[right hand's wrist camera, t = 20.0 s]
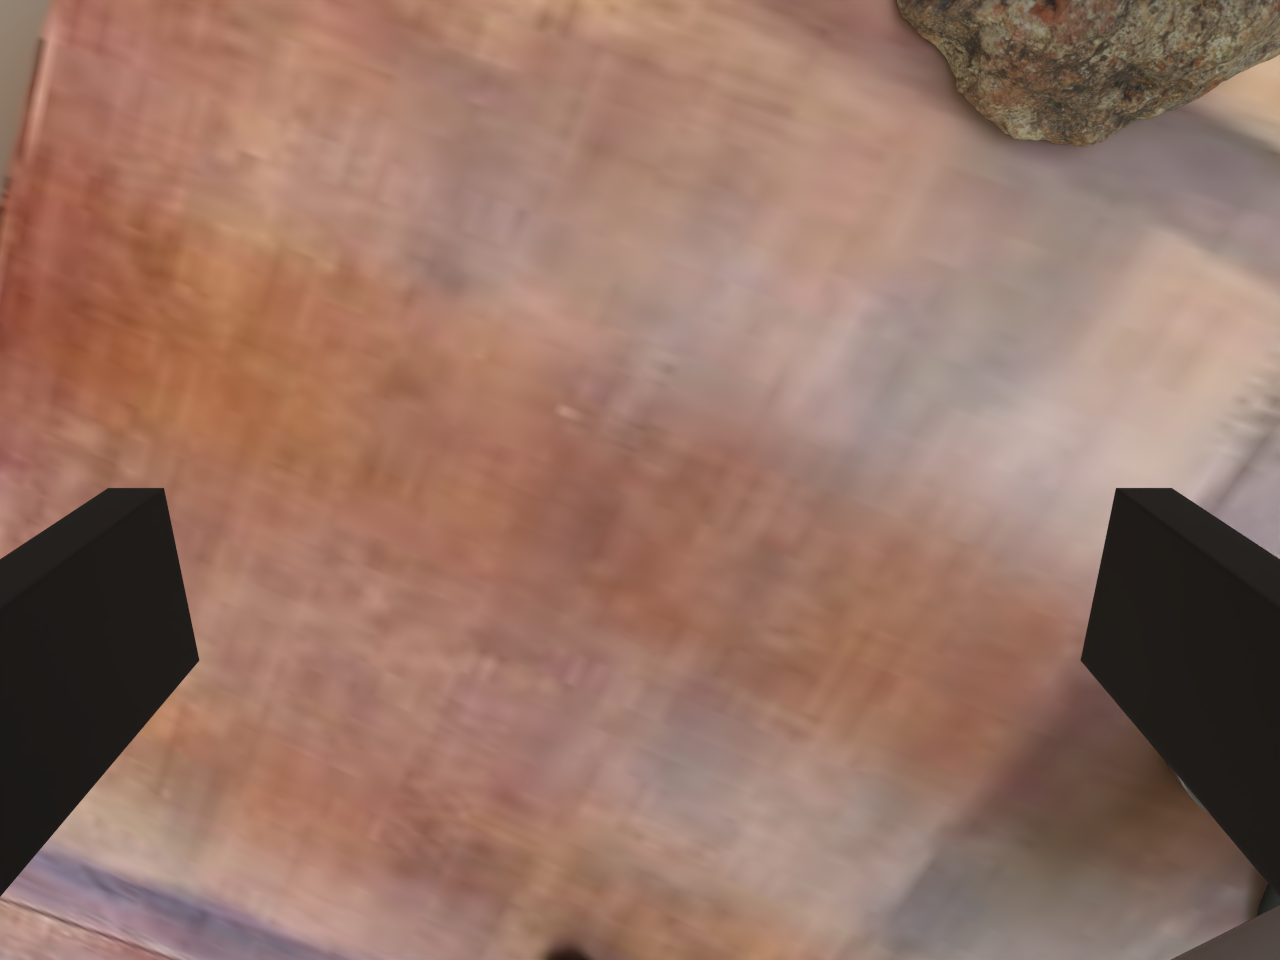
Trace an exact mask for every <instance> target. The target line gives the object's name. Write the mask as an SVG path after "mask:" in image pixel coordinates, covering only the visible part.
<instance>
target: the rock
mask: <svg viewBox="0 0 1280 960" xmlns="http://www.w3.org/2000/svg"><path fill="white" fill-rule="evenodd" d="M896 1H897V4H898V7H899V11H900V14H901V17H902V18H904V19H905V20H907V21H908V22H909V23H910V24H911V25H912V26H913V27H914V28H915V29H916V30H917V32H918V33H919V34H920V36H921V37H923V38H925V39H927V40H928V41H930V42H931V43H933V44H934V45H935V46H936V47H937V48H938V49H939V50H940V51H941V52H942V53H943V55H944V56H945V57H946V59H947V62H948V64H949V66H950V69H951V71H952V72H953V74H954V75H955V77H956V87H957V90H958V92H960V93H962V94H963V95H964V96H965V98H966V99H967V101H968V102H969V103H971V104H972V105H973V106H974V107H975V109H976V110H978V111H979V112H980V113H981V114H982V115H983V116H984V117H985V118H986V119H988V120H991V121H992V122H993V123H995V124H996V125H997V126H998V127H999V128H1000V129H1001V130H1002V131H1003V132H1004V133H1006V134H1008V135H1011V136H1012V137H1013V138H1014V139H1020V140H1046V141H1049V142H1051V143H1054V144H1068V143H1072V144H1073V145H1075V146H1083V147H1087V146H1091V145H1093V144H1095V143H1097V142H1102V141H1104V140H1106V139H1107V138H1108V136H1110V135H1113V134H1115V133H1116V132H1118V131H1119V130H1120V129H1122V128H1123V127H1127V126H1128V125H1129V124H1130V123H1132V122H1134V121H1136V120H1141V119H1149V118H1152V117H1155V116H1157V115H1159V114H1161V113H1163V112H1165V111H1169V110H1172V109H1175V108H1177V107H1180V106H1182V105H1185V104H1187V103H1189V102H1191V101H1193V100H1196V99H1198V98H1200V97H1201V96H1203V95H1204V94H1206V93H1207V92H1209V91H1210V90H1212V89H1213V88H1215V87H1216V86H1218V85H1219V84H1220V83H1221V82H1223V81H1225V80H1228V79H1230V78H1231V77H1233V76H1234V75H1236V74H1238V73H1240V72H1242V71H1244V70H1247V69H1249V68H1251V67H1253V66H1255V65H1257V64H1259V63H1262V62H1265V61H1268V60H1270V59H1272V58H1274V57H1276V56H1278V55H1279V54H1280V0H896Z"/></svg>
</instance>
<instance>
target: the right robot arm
mask: <svg viewBox="0 0 1280 960" xmlns="http://www.w3.org/2000/svg"><path fill="white" fill-rule="evenodd" d="M198 661H199V657H198V652H197V647H196V642H195V637H194V632H193V628H192V623H191V618H190V613H189V608H188V603H187V598H186V593H185V589H184V584H183V579H182V574H181V569H180V564H179V559H178V555H177V550H176V545H175V540H174V535H173V530H172V525H171V520H170V516H169V511H168V506H167V501H166V496H165V491H164V488H108V489H106V490H105V491H103V492H102V493H100V494H99V495H97V496H96V497H94V498H93V499H91V500H90V501H88V502H87V503H85V504H84V505H82V506H80V507H79V508H77V509H76V510H74V511H73V512H71V513H70V514H68V515H67V516H65V517H64V518H62V519H61V520H59V521H58V522H56V523H55V524H53V525H52V526H50V527H49V528H47V529H46V530H44V531H43V532H41V533H40V534H38V535H37V536H35V537H33V538H32V539H30V540H29V541H27V542H26V543H24V544H23V545H21V546H20V547H18V548H17V549H15V550H14V551H12V552H11V553H9V554H8V555H6V556H5V557H3V558H2V559H0V896H1V895H2V894H3V893H4V892H5V890H6V889H7V888H8V887H9V886H10V884H11V883H12V882H13V881H14V880H15V878H16V877H17V876H18V875H19V874H20V873H21V871H22V870H23V869H24V868H25V867H26V865H27V864H28V863H29V862H30V861H31V859H32V858H33V857H34V856H35V855H36V854H37V852H38V851H39V850H40V849H41V848H42V846H43V845H44V844H45V843H46V842H47V841H48V839H49V838H50V837H51V836H52V835H53V833H54V832H55V831H56V830H57V829H58V827H59V826H60V825H61V824H62V823H63V822H64V820H65V819H66V818H67V817H68V816H69V814H70V813H71V812H72V811H73V810H74V808H75V807H76V806H77V805H78V804H79V803H80V801H81V800H82V799H83V798H84V797H85V795H86V794H87V793H88V792H89V791H90V789H91V788H92V787H93V786H94V785H95V784H96V782H97V781H98V780H99V779H100V778H101V776H102V775H103V774H104V773H105V772H106V770H107V769H108V768H109V767H110V766H111V765H112V763H113V762H114V761H115V760H116V759H117V757H118V756H119V755H120V754H121V753H122V752H123V750H124V749H125V748H126V747H127V746H128V744H129V743H130V742H131V741H132V740H133V738H134V737H135V736H136V735H137V734H138V733H139V731H140V730H141V729H142V728H143V727H144V725H145V724H146V723H147V722H148V721H149V719H150V718H151V717H152V716H153V715H154V714H155V712H156V711H157V710H158V709H159V708H160V706H161V705H162V704H163V703H164V702H165V700H166V699H167V698H168V697H169V696H170V695H171V693H172V692H173V691H174V690H175V689H176V687H177V686H178V685H179V684H180V683H181V681H182V680H183V679H184V678H185V677H186V676H187V674H188V673H189V672H190V671H191V670H192V668H193V667H194V666H195V665H196V664H197V663H198ZM1081 661H1082V663H1083V664H1084V665H1085V666H1086V667H1087V668H1088V670H1089V671H1090V672H1091V673H1092V674H1093V676H1094V677H1095V678H1096V679H1097V680H1098V681H1099V683H1100V684H1101V685H1102V686H1103V687H1104V689H1105V690H1106V691H1107V692H1108V693H1109V695H1110V696H1111V697H1112V698H1113V699H1114V700H1115V702H1116V703H1117V704H1118V705H1119V706H1120V708H1121V709H1122V710H1123V711H1124V712H1125V714H1126V715H1127V716H1128V717H1129V718H1130V719H1131V721H1132V722H1133V723H1134V724H1135V725H1136V727H1137V728H1138V729H1139V730H1140V731H1141V733H1142V734H1143V735H1144V736H1145V737H1146V738H1147V740H1148V741H1149V742H1150V743H1151V744H1152V746H1153V747H1154V748H1155V749H1156V750H1157V752H1158V753H1159V754H1160V755H1161V756H1162V757H1163V759H1164V760H1165V761H1166V763H1167V765H1168V767H1169V769H1170V771H1171V772H1172V774H1173V775H1174V777H1175V778H1176V780H1177V781H1178V782H1179V783H1180V784H1181V786H1182V787H1183V788H1184V789H1185V790H1186V792H1187V793H1188V794H1189V795H1190V796H1191V797H1192V799H1193V800H1194V801H1195V802H1196V803H1197V804H1198V805H1199V806H1200V807H1202V808H1203V809H1204V810H1205V811H1206V812H1208V813H1209V814H1210V815H1211V816H1212V817H1213V818H1214V819H1215V820H1216V822H1217V823H1218V824H1219V825H1220V826H1221V827H1222V829H1223V830H1224V831H1225V832H1226V833H1227V835H1228V836H1229V837H1230V838H1231V839H1232V841H1233V842H1234V843H1235V844H1236V845H1237V846H1238V848H1239V849H1240V850H1241V851H1242V852H1243V854H1244V855H1245V856H1246V857H1247V858H1248V859H1249V861H1250V862H1251V863H1252V864H1253V865H1254V867H1255V868H1256V869H1257V870H1258V871H1259V873H1260V874H1261V875H1262V876H1263V877H1264V878H1265V880H1266V881H1267V882H1268V885H1267V888H1266V890H1265V893H1264V895H1263V898H1262V900H1261V903H1260V906H1259V910H1258V914H1257V917H1255V918H1253V919H1251V920H1249V921H1247V922H1245V923H1243V924H1241V925H1239V926H1237V927H1235V928H1233V929H1231V930H1229V931H1227V932H1225V933H1223V934H1221V935H1219V936H1217V937H1215V938H1213V939H1211V940H1209V941H1207V942H1205V943H1203V944H1201V945H1199V946H1197V947H1195V948H1193V949H1191V950H1189V951H1187V952H1185V953H1183V954H1181V955H1179V956H1177V957H1175V958H1173V959H1171V960H1280V559H1278V558H1277V557H1275V556H1274V555H1272V554H1271V553H1269V552H1268V551H1266V550H1265V549H1263V548H1262V547H1260V546H1259V545H1257V544H1256V543H1254V542H1253V541H1251V540H1250V539H1248V538H1247V537H1245V536H1243V535H1242V534H1240V533H1239V532H1237V531H1236V530H1234V529H1233V528H1231V527H1230V526H1228V525H1227V524H1225V523H1224V522H1222V521H1221V520H1219V519H1218V518H1216V517H1215V516H1213V515H1212V514H1210V513H1209V512H1207V511H1206V510H1204V509H1203V508H1201V507H1200V506H1198V505H1196V504H1195V503H1193V502H1192V501H1190V500H1189V499H1187V498H1186V497H1184V496H1183V495H1181V494H1180V493H1178V492H1177V491H1175V490H1174V489H1172V488H1116V491H1115V496H1114V501H1113V506H1112V511H1111V516H1110V520H1109V525H1108V530H1107V535H1106V540H1105V545H1104V550H1103V555H1102V559H1101V564H1100V569H1099V574H1098V579H1097V584H1096V589H1095V593H1094V598H1093V603H1092V608H1091V613H1090V618H1089V623H1088V628H1087V632H1086V637H1085V642H1084V647H1083V652H1082V657H1081Z"/></svg>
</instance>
